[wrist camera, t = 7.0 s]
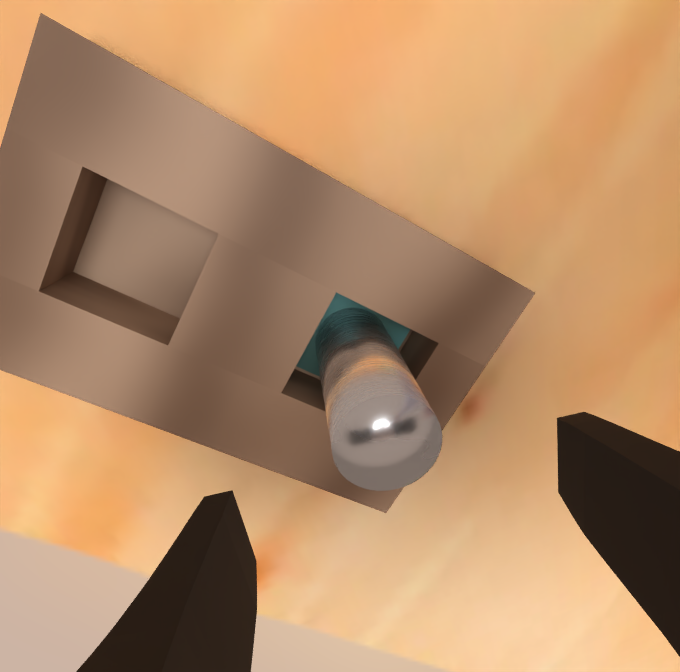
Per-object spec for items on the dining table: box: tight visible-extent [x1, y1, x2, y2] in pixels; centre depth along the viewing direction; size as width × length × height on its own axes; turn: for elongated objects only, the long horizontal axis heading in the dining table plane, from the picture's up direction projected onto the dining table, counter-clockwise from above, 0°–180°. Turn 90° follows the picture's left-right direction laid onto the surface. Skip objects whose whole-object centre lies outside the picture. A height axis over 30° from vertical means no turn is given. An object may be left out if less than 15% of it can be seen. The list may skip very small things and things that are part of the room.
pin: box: [315, 307, 442, 491], centre depth 15 cm, size 3×3×7 cm
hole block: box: [0, 13, 535, 513], centre depth 17 cm, size 16×10×3 cm, turn 62°
